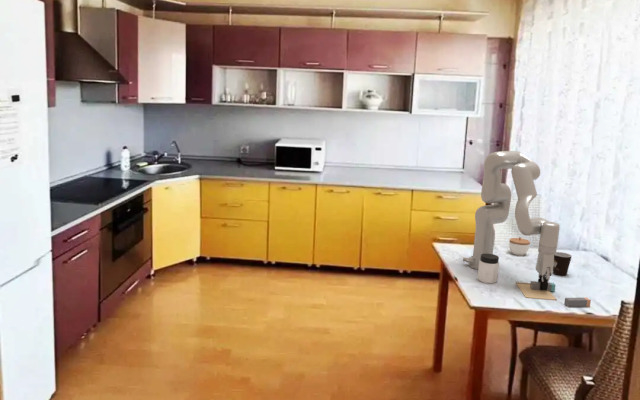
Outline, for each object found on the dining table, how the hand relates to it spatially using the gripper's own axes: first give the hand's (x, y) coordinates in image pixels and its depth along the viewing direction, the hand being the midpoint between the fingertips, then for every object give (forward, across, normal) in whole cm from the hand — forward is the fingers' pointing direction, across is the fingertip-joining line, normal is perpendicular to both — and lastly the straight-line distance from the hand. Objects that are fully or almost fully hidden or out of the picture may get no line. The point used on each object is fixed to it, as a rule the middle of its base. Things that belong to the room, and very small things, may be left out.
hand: (542, 288), depth 259 cm
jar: (+1, -8, -23) cm, 24 cm away
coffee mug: (+1, -28, +16) cm, 33 cm away
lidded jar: (+1, -58, +3) cm, 59 cm away
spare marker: (+1, +17, +10) cm, 19 cm away
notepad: (+1, +2, -4) cm, 4 cm away
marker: (+1, 0, 0) cm, 1 cm away
